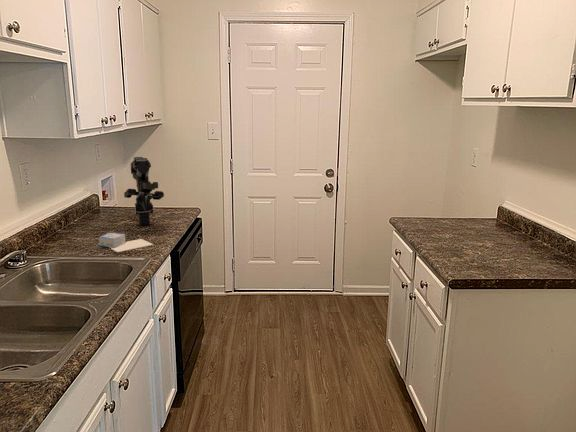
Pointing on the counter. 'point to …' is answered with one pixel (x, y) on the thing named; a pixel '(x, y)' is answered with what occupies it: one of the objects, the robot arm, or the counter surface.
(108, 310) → the counter surface
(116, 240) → the medicine box
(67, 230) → the counter surface
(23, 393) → the counter surface
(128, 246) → the pale rubber mat
